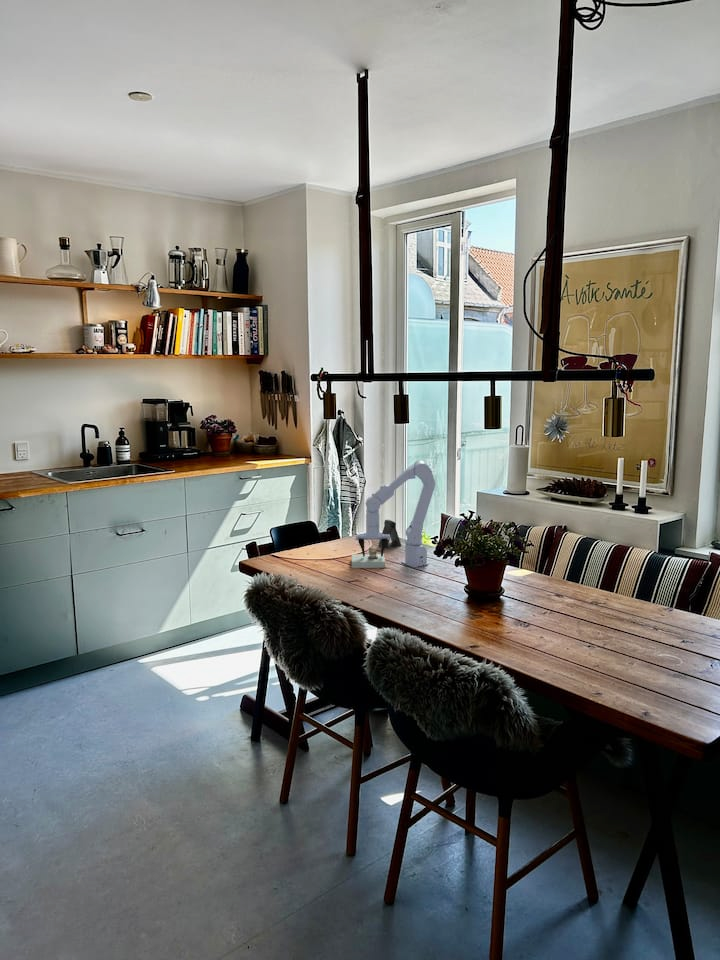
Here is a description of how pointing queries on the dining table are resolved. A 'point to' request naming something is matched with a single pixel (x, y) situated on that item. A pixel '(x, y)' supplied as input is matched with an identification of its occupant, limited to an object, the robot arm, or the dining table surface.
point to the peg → (372, 552)
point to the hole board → (367, 561)
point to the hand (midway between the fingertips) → (372, 555)
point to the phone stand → (391, 534)
